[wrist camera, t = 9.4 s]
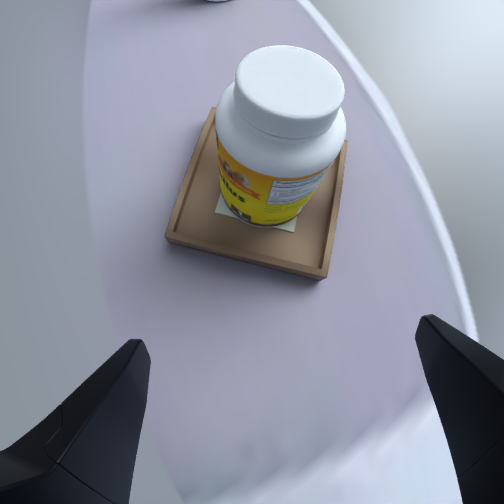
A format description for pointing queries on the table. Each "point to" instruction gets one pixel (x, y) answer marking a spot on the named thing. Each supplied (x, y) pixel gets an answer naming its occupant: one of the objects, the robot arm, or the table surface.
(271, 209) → the supplement bottle
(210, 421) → the table surface
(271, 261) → the tray
